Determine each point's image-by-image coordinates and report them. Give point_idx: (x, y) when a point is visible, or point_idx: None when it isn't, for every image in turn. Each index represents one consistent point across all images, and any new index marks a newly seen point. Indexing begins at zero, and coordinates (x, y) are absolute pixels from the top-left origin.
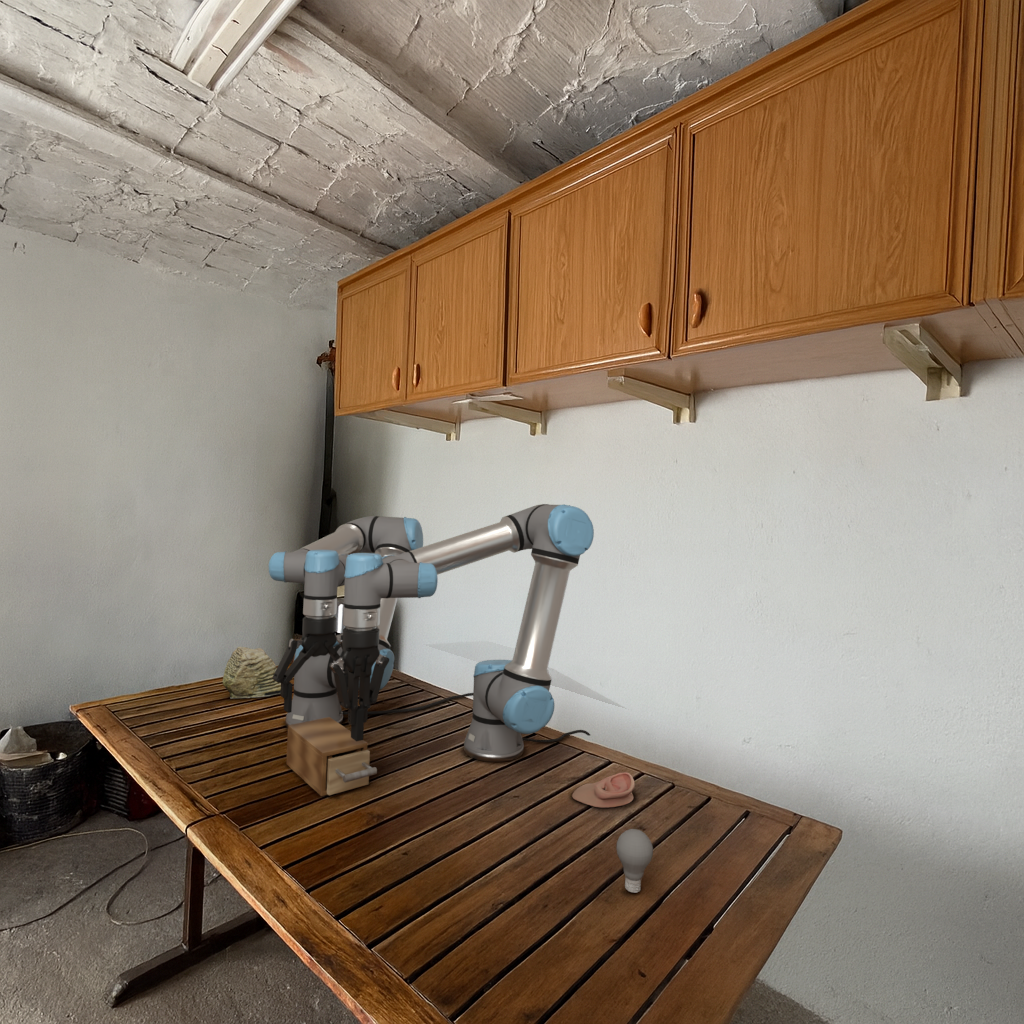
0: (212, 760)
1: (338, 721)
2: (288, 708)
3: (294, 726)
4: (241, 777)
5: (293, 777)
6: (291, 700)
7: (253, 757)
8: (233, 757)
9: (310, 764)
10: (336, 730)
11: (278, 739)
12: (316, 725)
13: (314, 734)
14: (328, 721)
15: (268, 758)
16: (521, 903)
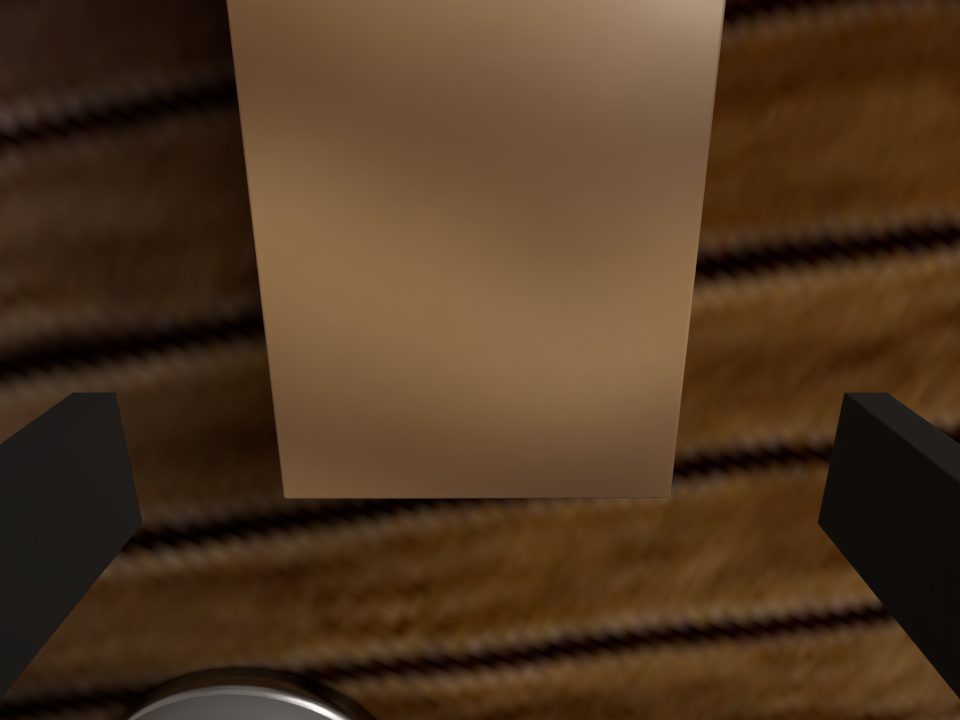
0: (877, 610)
1: (144, 709)
2: (918, 418)
3: (639, 445)
4: (877, 345)
5: None
6: (953, 468)
7: (705, 546)
8: (783, 594)
9: None
10: (355, 134)
11: (502, 683)
12: (469, 367)
13: (586, 153)
14: (335, 402)
15: None
16: None
